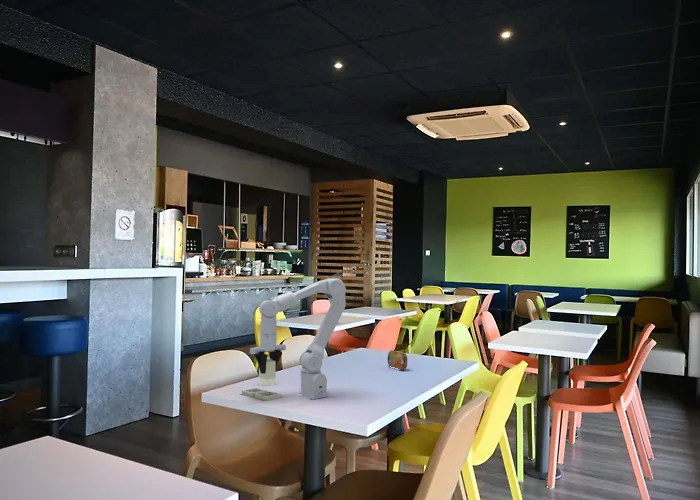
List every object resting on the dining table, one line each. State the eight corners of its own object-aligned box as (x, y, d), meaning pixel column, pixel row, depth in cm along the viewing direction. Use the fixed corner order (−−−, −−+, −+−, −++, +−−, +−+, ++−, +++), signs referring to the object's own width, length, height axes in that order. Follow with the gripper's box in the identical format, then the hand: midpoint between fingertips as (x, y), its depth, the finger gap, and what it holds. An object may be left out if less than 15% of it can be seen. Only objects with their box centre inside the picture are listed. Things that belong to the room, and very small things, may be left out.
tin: (386, 366, 262) (386, 349, 263) (392, 366, 264) (392, 348, 264) (402, 371, 249) (402, 353, 249) (408, 371, 250) (408, 352, 251)
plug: (275, 377, 194) (275, 359, 195) (266, 379, 191) (266, 360, 192) (268, 376, 197) (268, 358, 197) (259, 378, 194) (259, 359, 194)
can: (272, 387, 213) (272, 356, 214) (256, 386, 214) (256, 356, 215) (277, 384, 219) (277, 354, 220) (262, 383, 221) (262, 353, 221)
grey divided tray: (284, 398, 194) (284, 393, 194) (263, 402, 188) (263, 397, 188) (258, 392, 205) (258, 387, 205) (238, 395, 198) (238, 390, 199)
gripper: (277, 331, 203) (277, 368, 202) (245, 334, 192) (244, 373, 192) (289, 333, 198) (289, 371, 197) (256, 336, 187) (256, 376, 187)
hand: (268, 372), depth 194 cm, fingers closed on plug, 4 cm apart
